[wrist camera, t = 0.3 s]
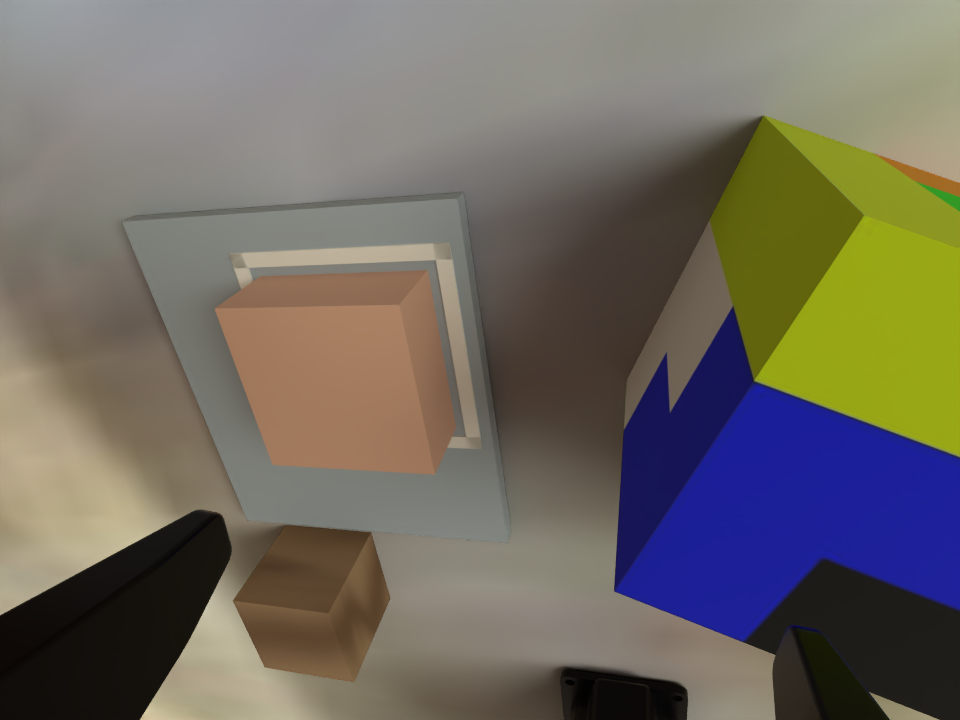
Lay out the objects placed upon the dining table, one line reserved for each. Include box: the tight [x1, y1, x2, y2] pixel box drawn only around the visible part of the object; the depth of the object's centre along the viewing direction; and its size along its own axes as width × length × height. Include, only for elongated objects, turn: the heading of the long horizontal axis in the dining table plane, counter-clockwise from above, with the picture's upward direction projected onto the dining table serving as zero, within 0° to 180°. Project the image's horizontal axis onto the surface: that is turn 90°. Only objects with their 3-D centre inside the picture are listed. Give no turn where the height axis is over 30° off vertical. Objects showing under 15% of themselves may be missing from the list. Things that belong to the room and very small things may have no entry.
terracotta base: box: [215, 270, 456, 475], centre depth 23 cm, size 7×7×3 cm
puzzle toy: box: [614, 116, 960, 720], centre depth 16 cm, size 10×10×10 cm
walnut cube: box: [233, 525, 390, 682], centre depth 31 cm, size 5×5×5 cm
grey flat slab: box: [122, 192, 511, 543], centre depth 26 cm, size 16×14×1 cm
